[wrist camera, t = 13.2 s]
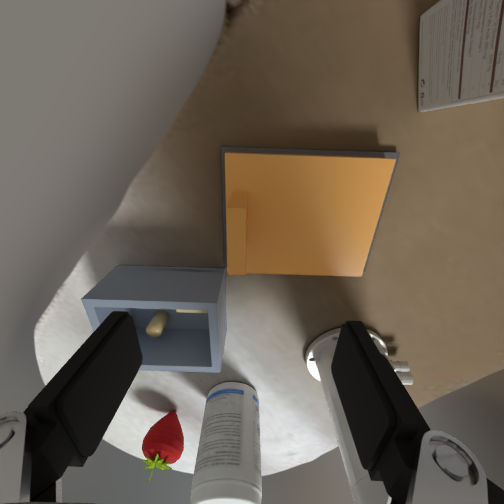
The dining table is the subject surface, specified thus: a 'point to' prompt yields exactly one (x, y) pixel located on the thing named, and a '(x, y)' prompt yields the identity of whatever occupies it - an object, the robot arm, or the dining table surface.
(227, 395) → the supplement tub
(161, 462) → the strawberry
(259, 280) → the dining table surface
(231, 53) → the dining table surface
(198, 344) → the parts tub
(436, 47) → the supplement box
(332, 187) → the lid
